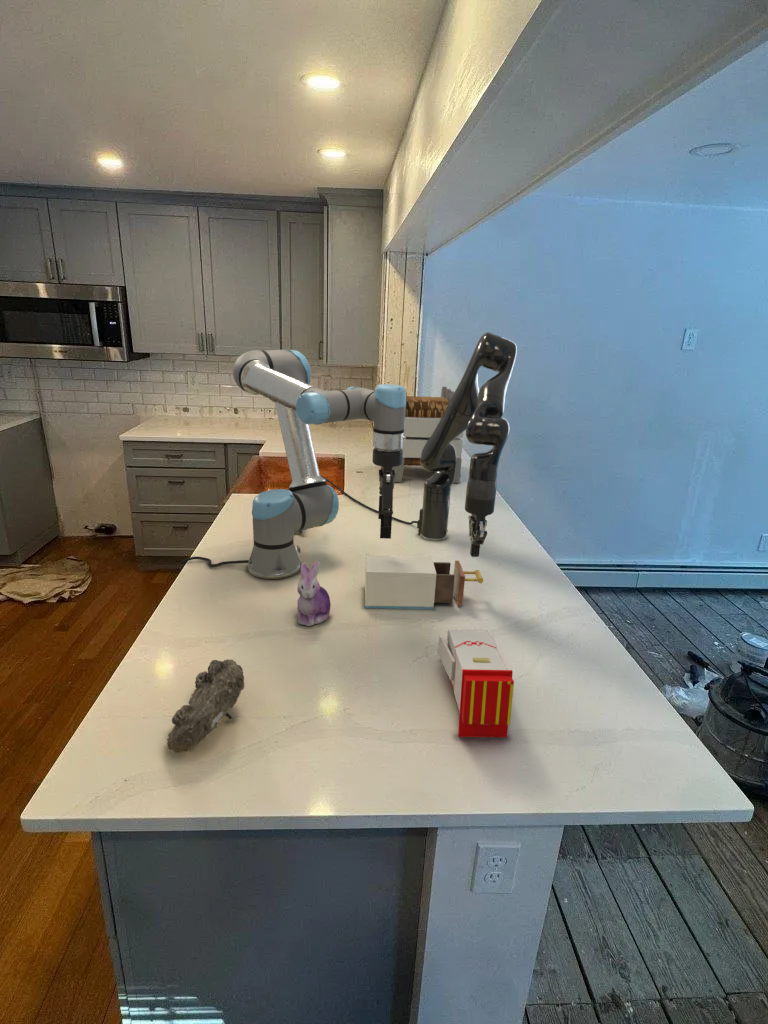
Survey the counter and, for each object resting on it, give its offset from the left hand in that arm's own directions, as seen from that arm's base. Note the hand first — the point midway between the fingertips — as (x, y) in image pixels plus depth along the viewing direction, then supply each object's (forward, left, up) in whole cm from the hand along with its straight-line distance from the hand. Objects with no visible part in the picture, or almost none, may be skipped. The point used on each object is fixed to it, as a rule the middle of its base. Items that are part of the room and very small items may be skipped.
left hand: (384, 528), depth 148 cm
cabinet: (+4, +2, -21) cm, 21 cm away
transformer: (-34, +124, -21) cm, 130 cm away
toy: (+33, -28, -21) cm, 48 cm away
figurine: (-11, -18, -21) cm, 29 cm away
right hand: (+22, +11, -7) cm, 26 cm away
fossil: (-10, -58, -21) cm, 62 cm away
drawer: (+14, +7, -20) cm, 25 cm away
